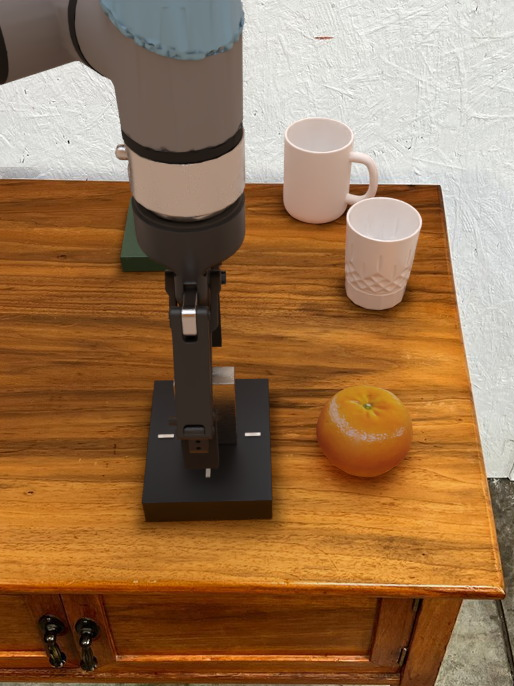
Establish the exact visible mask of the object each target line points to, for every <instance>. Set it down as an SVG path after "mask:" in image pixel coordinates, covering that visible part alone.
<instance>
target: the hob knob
mask: <svg viewBox="0 0 514 686" xmlns="http://www.w3.org/2000/svg"><path fill="white" fill-rule="evenodd" d="M212 373H213V409H216V421H217V436H218V444H237V411H236V388H235V379H236V368H235V366H212ZM173 386H174V394H175V383H174V382H173ZM181 445H182V440H181Z"/></svg>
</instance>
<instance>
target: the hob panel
mask: <svg viewBox="0 0 514 686" xmlns="http://www.w3.org/2000/svg"><path fill="white" fill-rule="evenodd" d="M269 381H270V380H269V378H235V388H236V411H237V444H218V451H219V468H217V469H185V465H184V457H183V448H182V445H181V440H178V438H177V435H176V434H175V428H177V425H171V426H169V420H168V419H169V417H170V416H176V403H175V394H174V386H173V382H174V379H160V380H159V379H158V380H157V379H156V380H153V390H152V399H151V408H150V409H151V410H150V419H149V427H148V428H149V429H148V438H147V446H146V447H147V448H146V457H145V467H144V477H143V485H142V494H141V495H142V496H141V506H142V511H143V517H144V521H145V523H164V522H165V523H166V522H169V523H170V522H204V521H205V522H207V521H209V522H210V521H211V522H212V521H250V520H251V521H253V520H273V501H274V500H273V477H272V476H273V473H272V472H273V471H272V444H271V442H272V441H271V412H270V411H271V410H270V387H269V386H270V382H269Z"/></svg>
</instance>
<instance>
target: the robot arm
mask: <svg viewBox="0 0 514 686" xmlns="http://www.w3.org/2000/svg"><path fill="white" fill-rule="evenodd" d="M245 19H246V17H245V11H244V5H243V2H242V0H0V86H3V85H6V84H9V83H12V82H15V81H18V80H21V79H25V78H27V77H30V76H34V75H37V74H41V73H43V72H47V71H49V70H53V69H57V68H58V67H59V68H60V67H63V66H65V65H68V64H71V63H74V62H80V63H81V64H82V65H84V66H85V67H87V68H89V69H91V70H92V71H93V72H95V73H97V74H98V75H99V76H101V77H103V78H106V79H108V80H109V81H110V82H111V83H112V86H113V89H114V94H115V100H116V101H115V102H116V106H117V107H116V108H117V113H118V119H119V125H120V132H121V139H122V141H123V143H119V144H117V145H116V147H115V150H114V155H115V157H116V159H117V160H119V161H128V162H127V176H128V182H129V189H130V193H131V197H132V201H131V203H132V210H133V217H134V224H135V231H136V238H137V242H138V244H139V246H140V248H141V250H142V251H143V252H144V253H145V254H146V255H147V256H148V257H149V258H150V259H152V260H154V261H155V262H157V263H159V264H162V265H164V266H166V267H167V268H169V269H171V270H165V271H164V290H165V292H166V294H167V296H168V313H167V314H168V320H169V321H168V322H169V323H168V324H169V328H170V330H171V341H172V343H171V344H172V359H173V360H172V361H173V380H174V383H175V403H176V416H170V417H169V419H168V420H169V426H171V425H177V428H175V434H176V435H177V438H178V440H182V448H183V457H184V465H185V469H217V468H219V451H218V436H217V421H216V409H213V373H212V367H213V348H222V347H223V335H222V316H221V315H222V314H221V298H220V295H221V294H220V293H221V291H222V285H223V286H224V285H227V271H226V270H222V269H221V266H223V263H224V262H225V261H227V260H228V259H230V258H231V257H232V256H233V255H235V254H236V253H237V252H238V251H239V249H241V247H242V245H243V243H244V240H245V238H246V196H245V191H244V190H245V188H246V137H245V135H246V134H245V130H246V129H245V127H244V123H243V121H244V60H243V59H244V56H243V55H244V51H243V50H244V48H243V47H244V46H243V45H244V43H243V39H244V38H243V36H244V35H243V34H244V33H243V32H244V27H245V26H244V25H245Z"/></svg>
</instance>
